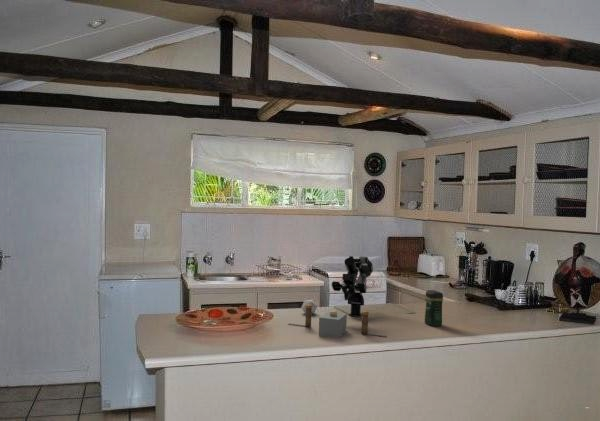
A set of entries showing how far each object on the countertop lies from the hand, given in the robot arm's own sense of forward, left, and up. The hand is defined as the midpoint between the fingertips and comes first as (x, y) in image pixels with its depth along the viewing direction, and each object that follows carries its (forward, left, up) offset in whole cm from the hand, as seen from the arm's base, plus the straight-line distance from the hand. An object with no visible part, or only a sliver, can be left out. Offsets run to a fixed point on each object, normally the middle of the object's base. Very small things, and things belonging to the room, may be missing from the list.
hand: (345, 300), depth 270 cm
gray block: (+22, 0, -13) cm, 26 cm away
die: (-11, -25, -13) cm, 30 cm away
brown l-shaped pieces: (+17, 0, -13) cm, 21 cm away
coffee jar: (-20, +44, -13) cm, 50 cm away
